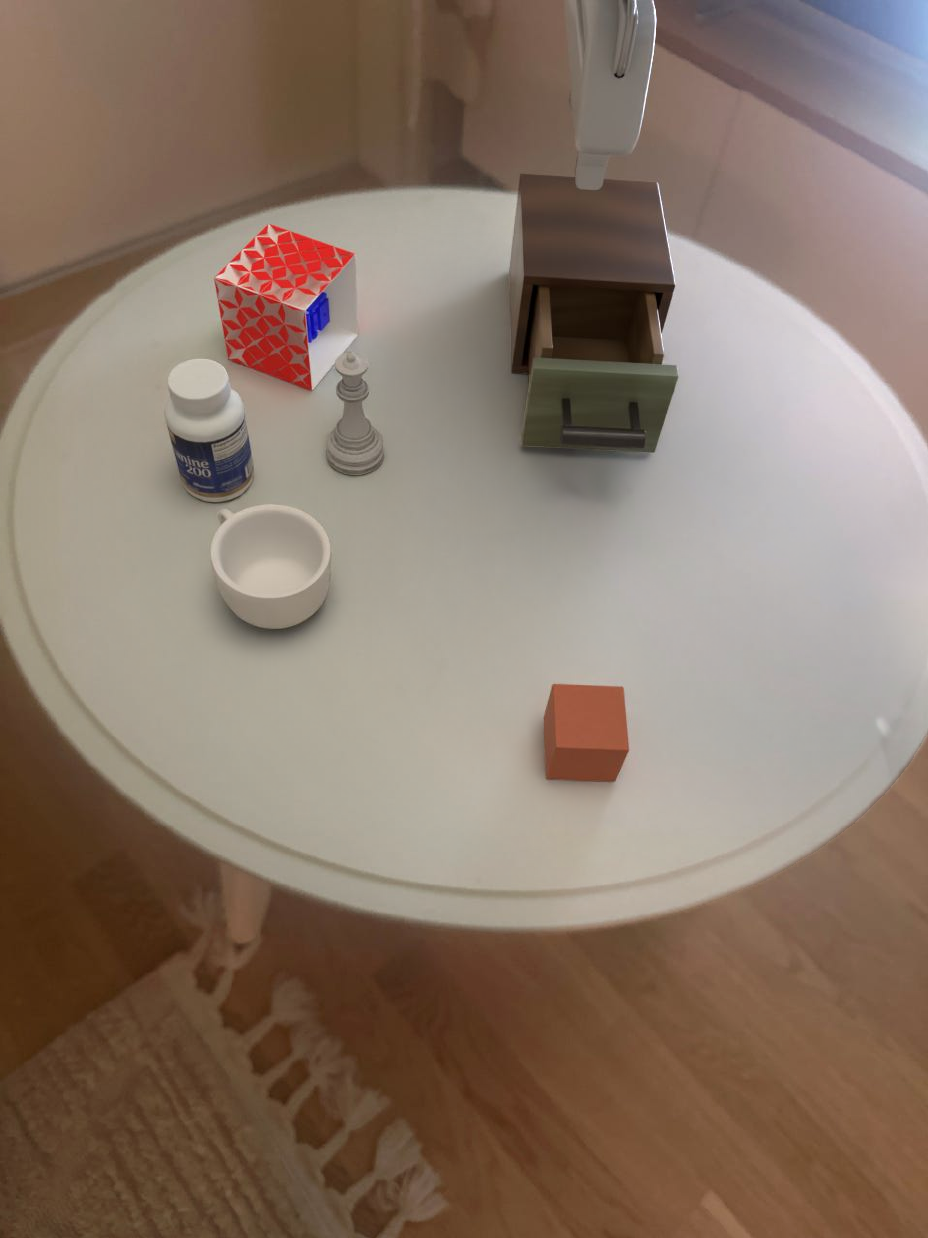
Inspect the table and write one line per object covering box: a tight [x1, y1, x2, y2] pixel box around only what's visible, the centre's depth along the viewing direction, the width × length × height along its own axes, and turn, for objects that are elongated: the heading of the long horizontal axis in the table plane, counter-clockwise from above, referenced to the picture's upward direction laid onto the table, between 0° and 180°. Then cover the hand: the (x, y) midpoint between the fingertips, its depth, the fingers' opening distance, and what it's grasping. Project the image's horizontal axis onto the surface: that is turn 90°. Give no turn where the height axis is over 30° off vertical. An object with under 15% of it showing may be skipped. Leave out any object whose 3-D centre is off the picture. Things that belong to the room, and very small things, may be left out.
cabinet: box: [508, 173, 676, 375], centre depth 82 cm, size 14×12×10 cm
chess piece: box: [325, 351, 385, 476], centre depth 72 cm, size 4×4×10 cm
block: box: [543, 683, 630, 783], centre depth 61 cm, size 4×4×4 cm
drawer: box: [521, 285, 679, 454], centre depth 75 cm, size 17×10×8 cm, turn 179°
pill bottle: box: [164, 358, 255, 503], centre depth 70 cm, size 5×5×10 cm
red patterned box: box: [213, 223, 360, 392], centre depth 79 cm, size 8×8×8 cm
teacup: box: [209, 503, 333, 630], centre depth 66 cm, size 10×8×5 cm
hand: (584, 144), depth 67 cm, fingers open, 8 cm apart
